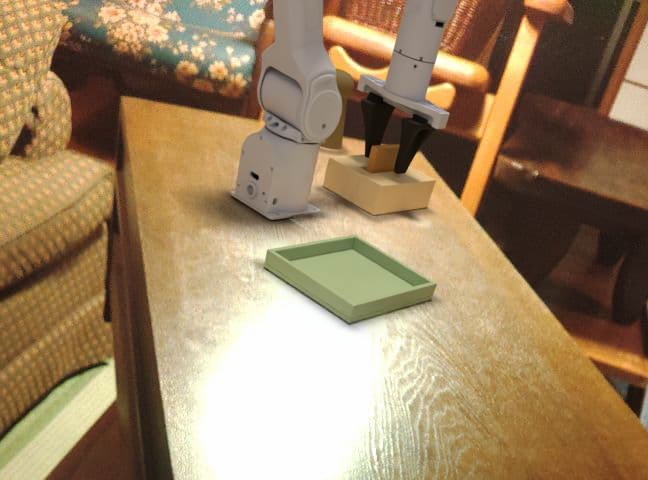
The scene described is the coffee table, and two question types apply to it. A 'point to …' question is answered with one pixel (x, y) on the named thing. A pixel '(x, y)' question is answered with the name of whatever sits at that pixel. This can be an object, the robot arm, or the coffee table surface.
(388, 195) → the toaster
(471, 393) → the coffee table surface
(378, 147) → the toast
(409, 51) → the robot arm
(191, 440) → the coffee table surface
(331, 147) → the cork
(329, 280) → the tray
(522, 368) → the coffee table surface
